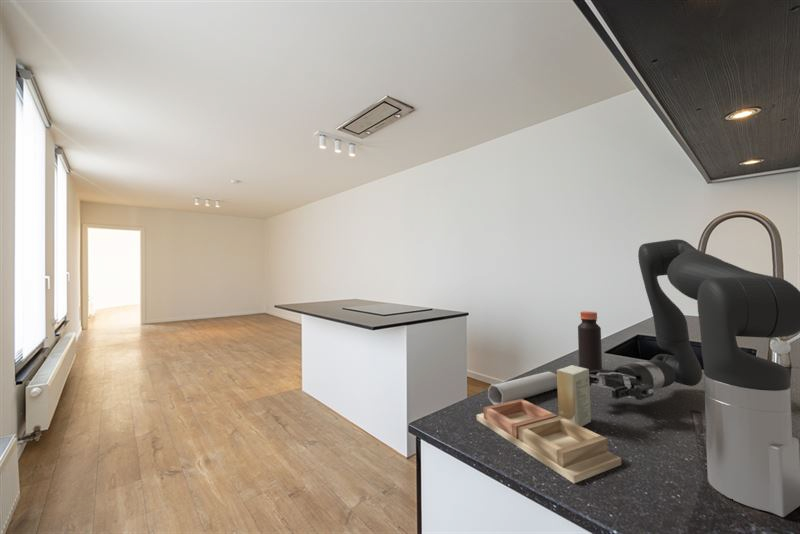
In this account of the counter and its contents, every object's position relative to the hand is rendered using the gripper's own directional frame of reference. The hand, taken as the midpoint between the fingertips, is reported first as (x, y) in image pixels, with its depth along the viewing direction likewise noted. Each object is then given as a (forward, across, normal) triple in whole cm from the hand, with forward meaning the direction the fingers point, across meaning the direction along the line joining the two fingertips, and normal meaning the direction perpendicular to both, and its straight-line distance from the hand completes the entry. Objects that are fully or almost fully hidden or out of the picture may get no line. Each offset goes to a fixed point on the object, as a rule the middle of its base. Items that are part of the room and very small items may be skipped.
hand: (596, 388), depth 78 cm
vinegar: (-30, -24, +7) cm, 39 cm away
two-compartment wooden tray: (+20, +2, +7) cm, 22 cm away
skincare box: (+8, 0, +7) cm, 10 cm away
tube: (+5, -15, +6) cm, 17 cm away
